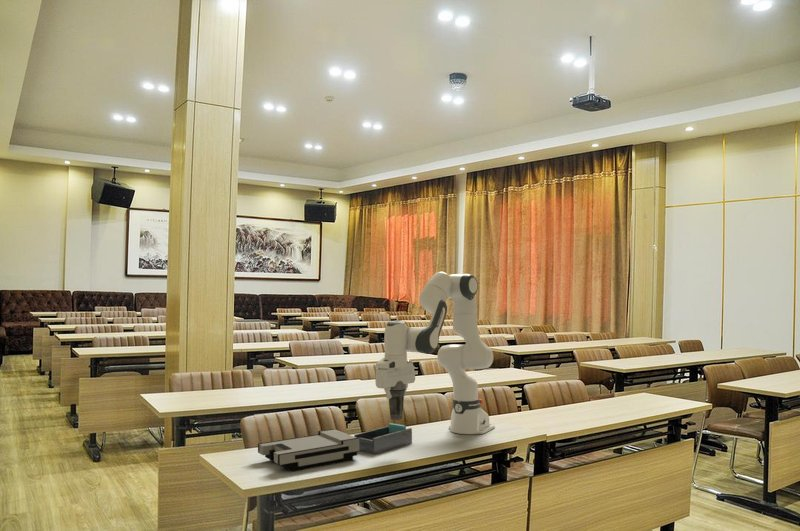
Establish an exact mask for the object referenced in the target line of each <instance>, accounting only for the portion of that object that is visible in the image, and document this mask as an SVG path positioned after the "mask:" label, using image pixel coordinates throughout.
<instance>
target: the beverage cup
mask: <svg viewBox="0 0 800 531" xmlns="http://www.w3.org/2000/svg"><path fill="white" fill-rule="evenodd" d="M390 393H391V394H392V398H391V399H388V404H389V405H388V407H389V415H390V420H391V421H401V420H403V415H404V403H405V402H404V401H405V400H404V399H405V396H404V394H405V386H404V383H403V382H402V381H398V382H397V384H396V385H395V386H394V387H391V390H390Z"/></svg>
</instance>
